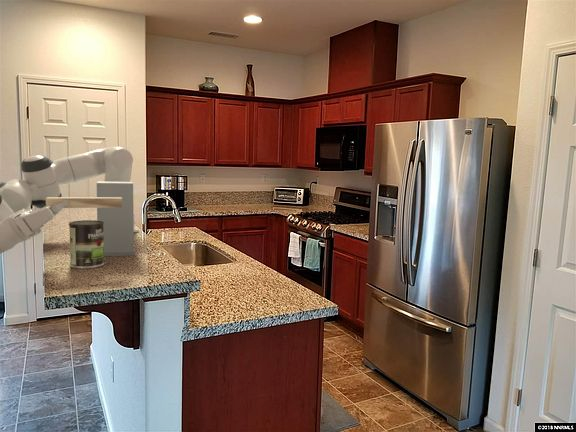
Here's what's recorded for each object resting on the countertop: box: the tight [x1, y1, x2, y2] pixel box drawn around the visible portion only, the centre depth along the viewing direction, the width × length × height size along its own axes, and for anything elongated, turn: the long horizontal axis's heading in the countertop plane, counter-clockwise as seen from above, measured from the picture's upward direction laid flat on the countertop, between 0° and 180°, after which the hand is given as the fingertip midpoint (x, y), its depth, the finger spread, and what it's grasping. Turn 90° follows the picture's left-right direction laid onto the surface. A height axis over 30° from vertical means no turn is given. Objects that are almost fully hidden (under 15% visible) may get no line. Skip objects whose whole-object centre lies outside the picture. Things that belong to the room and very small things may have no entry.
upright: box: [96, 180, 136, 257], centre depth 162 cm, size 9×13×26 cm
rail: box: [46, 196, 122, 209], centre depth 143 cm, size 4×22×3 cm, turn 109°
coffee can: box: [68, 219, 105, 270], centre depth 145 cm, size 10×10×14 cm
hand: (69, 201), depth 141 cm, fingers closed on rail, 3 cm apart
